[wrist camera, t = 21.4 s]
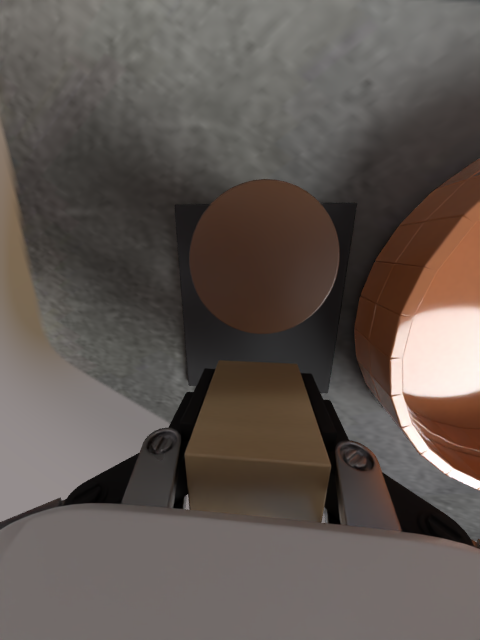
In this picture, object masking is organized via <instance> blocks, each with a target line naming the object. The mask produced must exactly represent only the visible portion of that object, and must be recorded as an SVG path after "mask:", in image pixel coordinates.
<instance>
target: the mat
mask: <svg viewBox="0 0 480 640" xmlns="http://www.w3.org/2000/svg"><path fill="white" fill-rule="evenodd" d="M320 204H321V205H322V206H323V207H324V209H325V210H326V211H327V213H328V214H329V216H330V218H331V220H332V222H333V224H334V227H335V230H336V233H337V237H338V242H339V253H340V257H339V267H338V272H337V276H336V279H335V282H334V285H333V287H332V289H331V291H330V293H329V295H328V297H327V298H326V300H325V301H324V303H323V304H322V305H321V306H320V307H319V309H318V310H317V311H316V312H315V313H314V314H313V315H311V316H310V317H309V318H308V319H306V320H305V321H303V322H302V323H300V324H298V325H297V326H295V327H292V328H290V329H287V330H284V331H281V332H277V333H270V334H255V333H248V332H244V331H240V330H238V329H235V328H232V327H230V326H228V325H226V324H225V323H223V322H222V321H220V320H219V319H218V318H216V317H215V316H214V315H213V314H212V313H211V312H210V311H209V310H208V309H207V308H206V306H205V305H204V304H203V302H202V301H201V299H200V297H199V296H198V294H197V292H196V290H195V287H194V284H193V281H192V277H191V274H190V266H189V252H190V244H191V240H192V236H193V233H194V230H195V228H196V225H197V223H198V221H199V220H200V218H201V216H202V214H203V213H204V212H205V210H206V209H207V208H208V206H209V205H210V204H196V205H175V217H176V230H177V242H178V255H179V268H180V280H181V293H182V306H183V318H184V331H185V344H186V356H187V369H188V382H189V386H197V384H198V382H199V380H200V377H201V375H202V373H203V371H204V369H205V368H209V369H216V366H217V364H218V361H219V360H223V361H245V362H267V363H289V364H298V367H299V370H300V373H311V374H312V375H313V377H314V380H315V382H316V384H317V387H318V389H319V391H320V393H328V389H329V382H330V375H331V369H332V362H333V356H334V349H335V343H336V336H337V330H338V323H339V317H340V310H341V304H342V297H343V291H344V284H345V277H346V271H347V264H348V258H349V251H350V245H351V238H352V232H353V225H354V219H355V212H356V206H357V203H320Z"/></svg>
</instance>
